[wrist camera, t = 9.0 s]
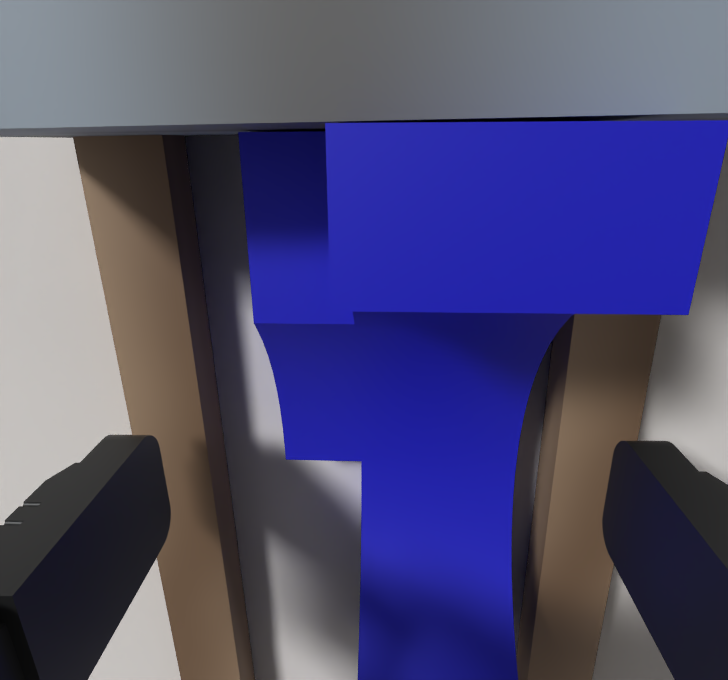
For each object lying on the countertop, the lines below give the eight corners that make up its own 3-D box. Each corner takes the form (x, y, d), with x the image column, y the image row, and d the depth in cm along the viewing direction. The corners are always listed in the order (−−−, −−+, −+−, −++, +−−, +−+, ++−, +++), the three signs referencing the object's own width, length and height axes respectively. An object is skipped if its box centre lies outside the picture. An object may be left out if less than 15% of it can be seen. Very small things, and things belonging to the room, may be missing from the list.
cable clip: (282, 134, 10) (132, 124, 4) (529, 133, 9) (731, 119, 4) (309, 621, 14) (253, 945, 8) (480, 627, 14) (543, 965, 8)
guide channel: (735, -88, 8) (1220, -410, 3) (551, 884, 17) (612, 1162, 12) (38, -60, 9) (-383, -299, 4) (221, 867, 18) (160, 1126, 13)
